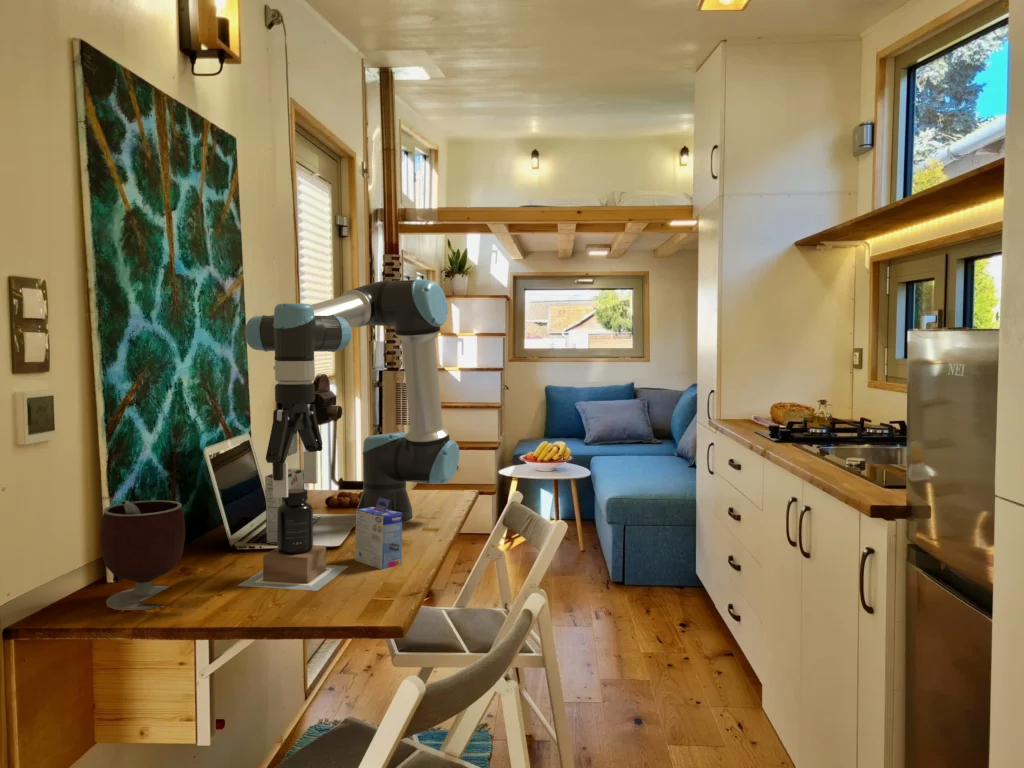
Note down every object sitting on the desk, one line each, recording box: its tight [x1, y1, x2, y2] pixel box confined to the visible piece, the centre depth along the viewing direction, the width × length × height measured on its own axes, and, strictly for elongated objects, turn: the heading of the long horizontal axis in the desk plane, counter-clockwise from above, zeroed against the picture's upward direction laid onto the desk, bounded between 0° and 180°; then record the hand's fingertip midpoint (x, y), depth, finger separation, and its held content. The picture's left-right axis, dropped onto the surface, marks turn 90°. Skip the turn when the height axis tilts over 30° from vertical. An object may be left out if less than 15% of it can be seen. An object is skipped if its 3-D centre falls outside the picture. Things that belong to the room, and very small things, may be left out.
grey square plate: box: [236, 564, 349, 592], centre depth 148 cm, size 16×16×1 cm
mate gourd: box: [99, 499, 186, 610], centre depth 136 cm, size 16×14×20 cm
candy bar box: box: [264, 467, 305, 542], centre depth 181 cm, size 11×5×16 cm, turn 170°
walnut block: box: [262, 544, 327, 584], centre depth 148 cm, size 9×9×5 cm
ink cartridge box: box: [354, 498, 403, 570], centre depth 158 cm, size 10×6×14 cm, turn 47°
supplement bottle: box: [276, 488, 314, 555], centre depth 148 cm, size 7×7×12 cm
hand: (296, 489), depth 148 cm, fingers open, 13 cm apart
